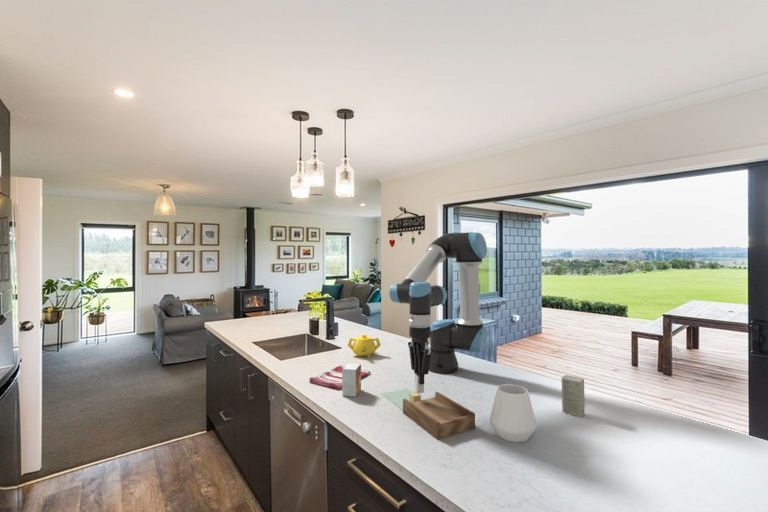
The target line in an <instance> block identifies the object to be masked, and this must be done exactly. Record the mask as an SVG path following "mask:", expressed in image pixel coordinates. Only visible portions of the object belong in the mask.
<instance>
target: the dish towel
mask: <svg viewBox="0 0 768 512" xmlns="http://www.w3.org/2000/svg"><path fill="white" fill-rule="evenodd" d="M345 366H346V365H339V366H336V367H334V368H332V369H331V370H328V371H325V372H323V373H321V374H320V375H318V376H314V377H313V376H311V377H309V380H308V383H309V382H310V384H313V383H314V384H313V385H317V386H320V387H325V388H328V389H332V390H335V391H340V390H342V369H343V368H344V367H345ZM369 375H372V374H371V371H369V370H366V369H365V370H364V369H361V380H362V379H364V378H366V377H368V376H369Z"/></svg>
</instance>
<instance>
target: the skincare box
mask: <svg viewBox="0 0 768 512" xmlns="http://www.w3.org/2000/svg"><path fill="white" fill-rule="evenodd" d="M585 403H586V402H585V379H584V378H582V377H577V376H572V375H567V374H565V375H564V376H562V377H561V405H562V407H561V410H562V413H563V412H564V413H563V414H567V415H571V416H574V417H578V418H582V417H583V416H584V415H585V414H586V412H585V411H586V409H585Z"/></svg>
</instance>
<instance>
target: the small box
mask: <svg viewBox="0 0 768 512" xmlns="http://www.w3.org/2000/svg"><path fill="white" fill-rule="evenodd" d="M344 366H345V367H344V368H343V369H342V389H341V390H342V391H341V392H342V396H343V397H355V398H356V397H357V396H358V394H360V392H361V390H362V379H361V370H362V364H361V363H350V362H349V363H347V364H346V365H344Z"/></svg>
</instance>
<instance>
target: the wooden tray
mask: <svg viewBox="0 0 768 512" xmlns="http://www.w3.org/2000/svg"><path fill="white" fill-rule="evenodd" d="M434 393H435V394H434V397H431V398H427V399H425V400H420V401H416V402H409V401H408V400H407V399H403V411H402V414H403V415H405V416H406V417H407V418H408V419H410V420H411V421H412V422H413V423H415V424H416V425H417V426H419V427H420V428H422V429H423V430H424V431H426V432H427V433H428V434H429V435H431V436H432V438H435V439H436V440H441V439H444V438H446V437H450V436H453V435H458V434H462V433H464V432H468V431H471V430H475V429H476V413H475V412H473V411H472V410H470V409H468V408H466V407H464V406H463V405H461V404H460V403H458V402H457V401H455V400H453V399H450V398H449V397H447V396H445V395H444V394H442V393H441V392H439V391H435V392H434Z"/></svg>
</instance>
